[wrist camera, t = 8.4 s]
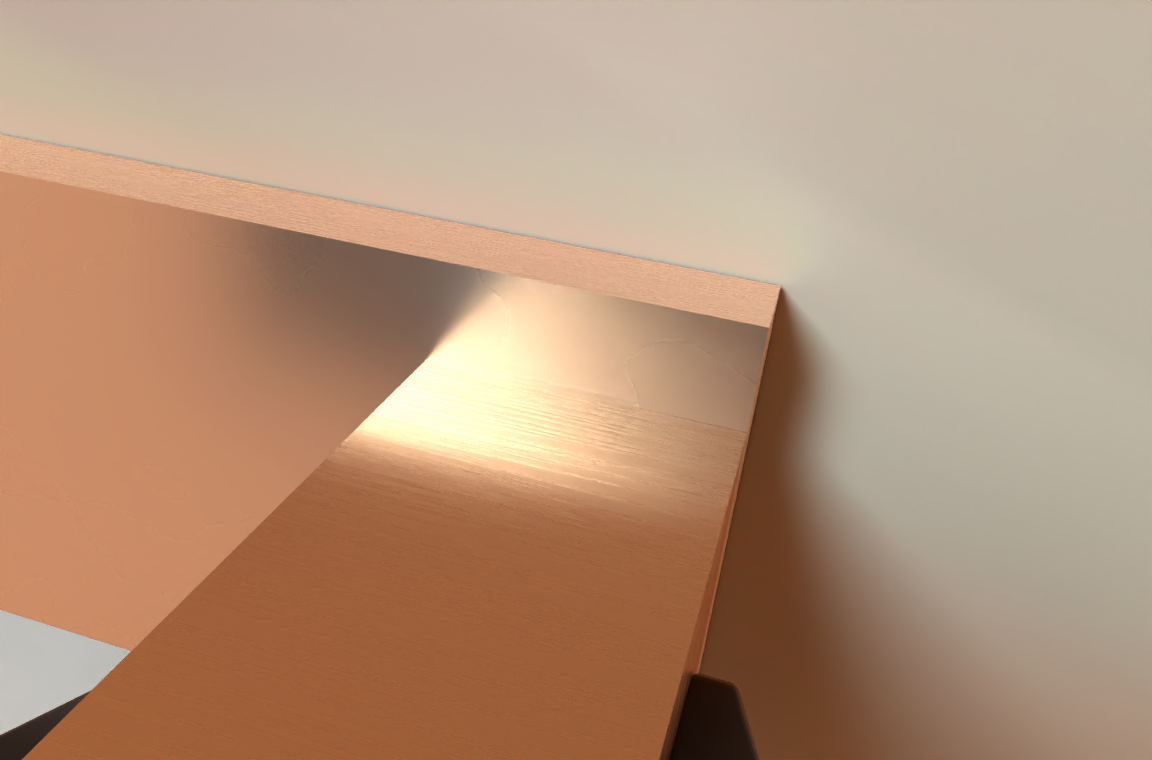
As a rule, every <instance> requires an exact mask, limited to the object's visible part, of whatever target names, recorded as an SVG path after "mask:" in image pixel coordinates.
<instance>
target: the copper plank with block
mask: <svg viewBox="0 0 1152 760" xmlns="http://www.w3.org/2000/svg"><path fill="white" fill-rule="evenodd" d="M780 288H781V286H779V285H774V284H769V283H764V282H759V281H753V280H748V279H743V278H738V277H733V276H728V275H723V274H717V273H712V272H707V271H702V270H697V269H692V268H687V267H681V266H676V265H671V264H666V263H661V262H656V261H651V260H645V259H640V258H635V257H630V256H625V255H620V254H614V253H609V252H604V251H599V250H594V249H589V248H584V247H578V246H573V245H568V244H563V243H558V242H553V241H548V240H542V239H537V238H532V237H527V236H522V235H517V234H512V233H506V232H501V231H496V230H491V229H486V228H481V227H476V226H470V225H465V224H460V223H455V222H450V221H445V220H440V219H434V218H429V217H424V216H419V215H414V214H409V213H404V212H398V211H393V210H388V209H383V208H378V207H373V206H368V205H362V204H357V203H352V202H347V201H342V200H337V199H331V198H326V197H321V196H316V195H311V194H306V193H301V192H295V191H290V190H285V189H280V188H275V187H270V186H265V185H259V184H254V183H249V182H244V181H239V180H234V179H229V178H223V177H218V176H213V175H208V174H203V173H198V172H193V171H187V170H182V169H177V168H172V167H167V166H162V165H157V164H151V163H146V162H141V161H136V160H131V159H126V158H121V157H115V156H110V155H105V154H100V153H95V152H90V151H85V150H79V149H74V148H69V147H64V146H59V145H54V144H49V143H43V142H38V141H33V140H28V139H23V138H18V137H12V136H7V135H2V134H0V610H3V611H7V612H10V613H13V614H16V615H19V616H22V617H26V618H29V619H32V620H35V621H38V622H41V623H45V624H48V625H51V626H54V627H57V628H61V629H64V630H67V631H70V632H73V633H76V634H80V635H83V636H86V637H89V638H92V639H96V640H99V641H102V642H105V643H108V644H111V645H115V646H118V647H121V648H124V649H127V650H130V651H131V652H130V653H129V654H128V655H127V656H126V657H125V658H124V659H123V660H122V661H121V662H120V663H119V664H118V665H117V666H116V667H115V668H114V669H113V670H112V671H111V672H110V673H109V674H108V675H107V676H106V677H105V678H104V679H103V680H102V681H101V682H100V683H99V684H98V685H97V686H96V687H95V688H94V689H93V690H92V691H91V692H90V693H89V694H88V695H87V696H86V697H85V698H84V699H83V700H82V701H81V702H79V703H78V704H77V705H76V706H75V707H74V708H73V709H72V710H71V711H70V712H69V713H68V714H67V715H66V716H65V717H64V718H63V719H62V720H61V721H60V722H59V723H58V724H57V725H56V726H55V727H54V728H53V729H52V730H51V731H50V732H49V733H48V734H47V735H46V736H45V737H44V738H43V739H42V740H41V741H40V742H39V743H38V744H37V745H36V746H35V747H34V748H33V749H32V750H31V751H30V752H29V753H28V754H27V755H26V756H25V757H24V758H23V759H22V760H670V756H671V752H672V748H673V745H674V741H675V737H676V734H677V730H678V726H679V722H680V719H681V715H682V711H683V707H684V704H685V700H686V696H687V692H688V689H689V685H690V681H691V678H692V674H695V673H698V674H699V670H700V666H701V661H702V656H703V652H704V647H705V642H706V637H707V633H708V628H709V623H710V619H711V614H712V609H713V604H714V600H715V595H716V590H717V586H718V581H719V576H720V571H721V567H722V562H723V557H724V553H725V548H726V543H727V538H728V534H729V529H730V524H731V520H732V515H733V510H734V505H735V501H736V496H737V491H738V487H739V482H740V477H741V472H742V468H743V463H744V458H745V454H746V449H747V444H748V439H749V435H750V430H751V425H752V420H753V416H754V411H755V406H756V402H757V397H758V392H759V387H760V383H761V378H762V373H763V369H764V364H765V359H766V354H767V350H768V345H769V340H770V336H771V331H772V326H773V321H774V317H775V312H776V307H777V303H778V298H779V293H780Z"/></svg>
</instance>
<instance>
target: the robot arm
mask: <svg viewBox="0 0 1152 760" xmlns="http://www.w3.org/2000/svg"><path fill="white" fill-rule="evenodd" d="M91 691H92V690H91ZM91 691H89V692H87V693H85V694H83V695H81V696H79V697H77V698H75V699H73V700H71V701H69V702H67V703H65V704H63V705H61V706H59V707H57V708H55V709H53V710H51V711H49V712H47V713H45V714H42V715H40V716H38V717H36V718H34V719H32V720H30V721H28V722H26V723H24V724H22V725H20V726H18V727H16V728H14V729H12V730H10V731H8V732H6V733H4V734H2V735H0V760H22V759H23V758H24V757H25V756H26V755H27V754H28V753H29V752H30V751H31V750H32V749H33V748H34V747H35V746H36V745H37V744H38V743H39V742H40V741H41V740H42V739H43V738H44V737H45V736H46V735H47V734H48V733H49V732H50V731H51V730H52V729H53V728H54V727H55V726H56V725H57V724H58V723H59V722H60V721H61V720H62V719H63V718H64V717H65V716H66V715H67V714H68V713H69V712H70V711H71V710H72V709H73V708H74V707H75V706H76V705H77V704H78V703H79V702H81V701H82V700H83V699H84V698H85V697H86V696H87V695H88V694H89V693H90V692H91ZM670 760H759V757H758V754H757V750H756V747H755V744H754V740H753V737H752V733H751V730H750V727H749V723H748V720H747V717H746V713H745V710H744V707H743V703H742V700H741V697H740V693H739V691H738V689H737V687H736V686H735V685H734V684H733V683H731V682H727V681H724V680H720V679H717V678H713V677H709V676H706V675H702V674H698V673H695V674H692V678H691V681H690V685H689V689H688V692H687V696H686V700H685V704H684V707H683V711H682V715H681V719H680V722H679V726H678V730H677V734H676V737H675V741H674V745H673V748H672V752H671V756H670Z"/></svg>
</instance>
